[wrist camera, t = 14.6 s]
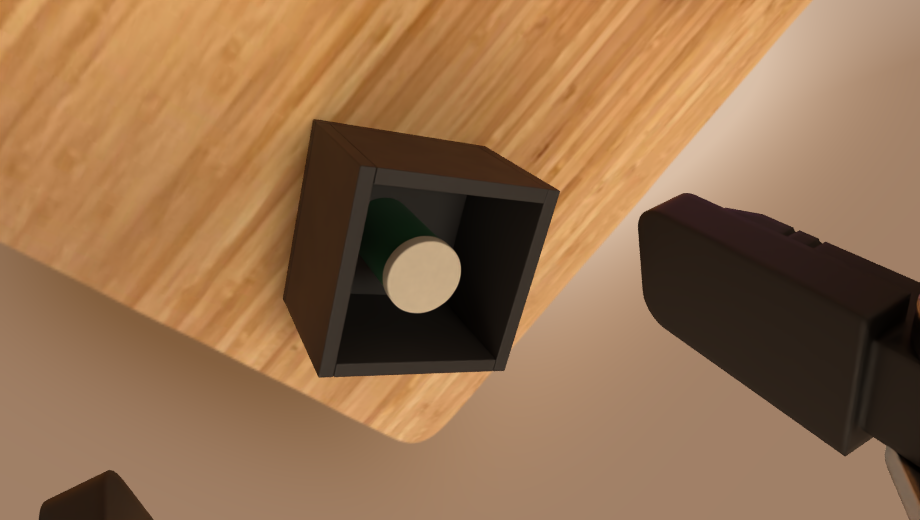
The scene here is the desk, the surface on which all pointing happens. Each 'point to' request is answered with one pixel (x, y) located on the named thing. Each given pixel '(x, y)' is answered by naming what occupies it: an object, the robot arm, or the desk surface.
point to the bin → (447, 215)
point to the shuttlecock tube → (408, 257)
